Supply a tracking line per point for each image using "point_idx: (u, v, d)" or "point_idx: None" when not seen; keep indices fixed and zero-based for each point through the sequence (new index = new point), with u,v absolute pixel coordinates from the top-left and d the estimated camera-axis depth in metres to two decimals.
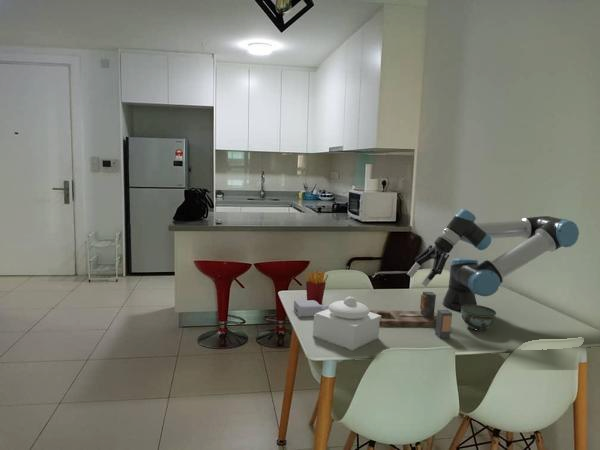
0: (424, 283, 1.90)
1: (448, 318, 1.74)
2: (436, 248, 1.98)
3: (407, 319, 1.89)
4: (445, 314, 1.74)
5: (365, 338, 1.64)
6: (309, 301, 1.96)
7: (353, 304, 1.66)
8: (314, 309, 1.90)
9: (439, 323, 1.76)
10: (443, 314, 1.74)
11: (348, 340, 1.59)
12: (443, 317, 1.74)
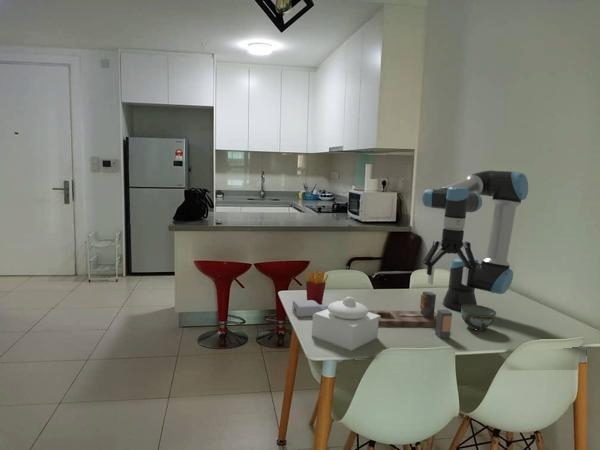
0: None
1: (448, 318, 1.74)
2: (450, 242, 1.71)
3: (407, 319, 1.89)
4: (445, 314, 1.74)
5: (364, 338, 1.64)
6: (308, 301, 1.96)
7: (352, 304, 1.66)
8: (313, 309, 1.90)
9: (439, 323, 1.76)
10: (443, 314, 1.74)
11: (347, 340, 1.59)
12: (443, 317, 1.74)
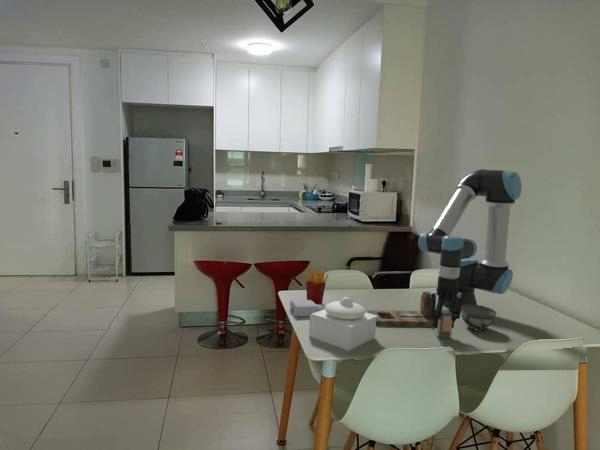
0: None
1: (448, 318, 1.74)
2: (445, 288, 1.73)
3: (407, 319, 1.89)
4: (445, 314, 1.74)
5: (361, 338, 1.63)
6: (305, 301, 1.96)
7: (349, 304, 1.65)
8: (310, 309, 1.90)
9: None
10: (443, 314, 1.74)
11: (344, 341, 1.58)
12: (443, 317, 1.74)
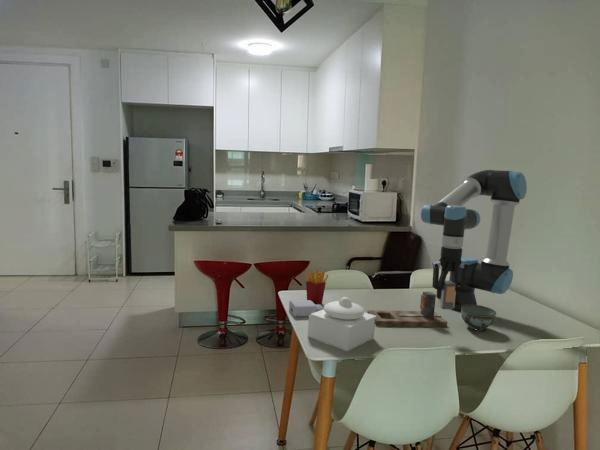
0: None
1: (452, 289, 1.72)
2: (448, 258, 1.72)
3: (407, 319, 1.89)
4: (448, 285, 1.73)
5: (360, 338, 1.63)
6: (304, 301, 1.96)
7: (348, 305, 1.65)
8: (309, 309, 1.90)
9: None
10: (446, 285, 1.72)
11: (343, 341, 1.58)
12: (446, 288, 1.72)
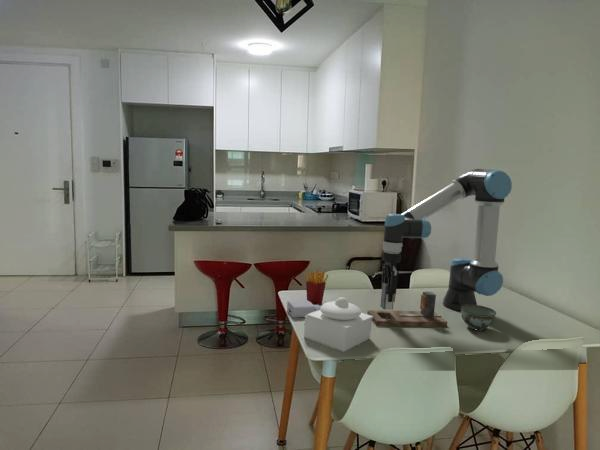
0: None
1: None
2: None
3: (407, 319, 1.89)
4: None
5: (356, 339, 1.63)
6: (303, 301, 1.95)
7: (345, 305, 1.65)
8: (308, 309, 1.89)
9: None
10: None
11: (340, 341, 1.58)
12: None
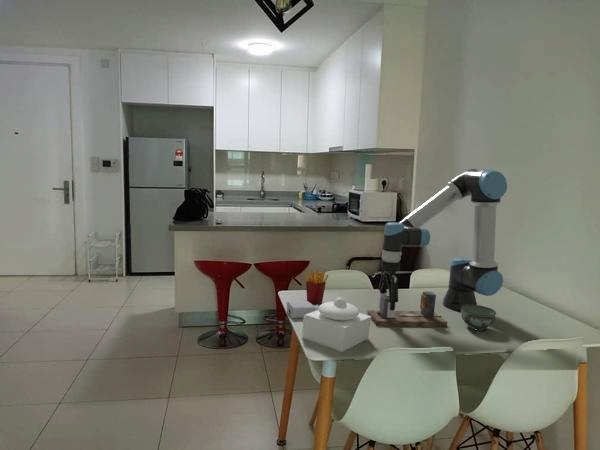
0: None
1: None
2: None
3: (407, 319, 1.89)
4: None
5: (355, 339, 1.62)
6: (302, 302, 1.94)
7: (343, 305, 1.64)
8: (308, 310, 1.88)
9: None
10: None
11: (338, 342, 1.57)
12: None
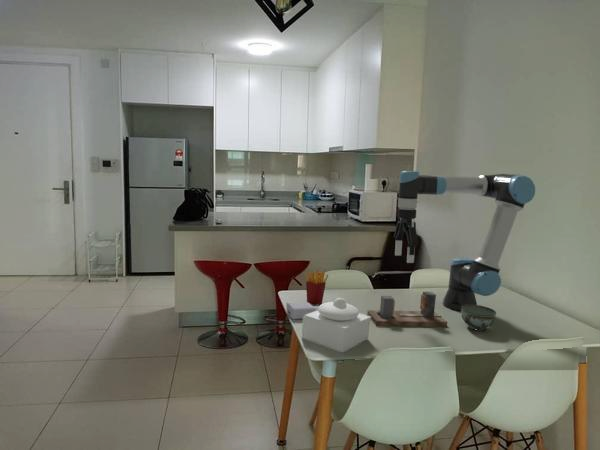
0: None
1: None
2: None
3: (407, 319, 1.89)
4: None
5: (354, 339, 1.62)
6: (302, 303, 1.93)
7: (343, 305, 1.64)
8: (308, 311, 1.87)
9: (389, 309, 1.89)
10: None
11: (338, 342, 1.57)
12: (394, 302, 1.89)
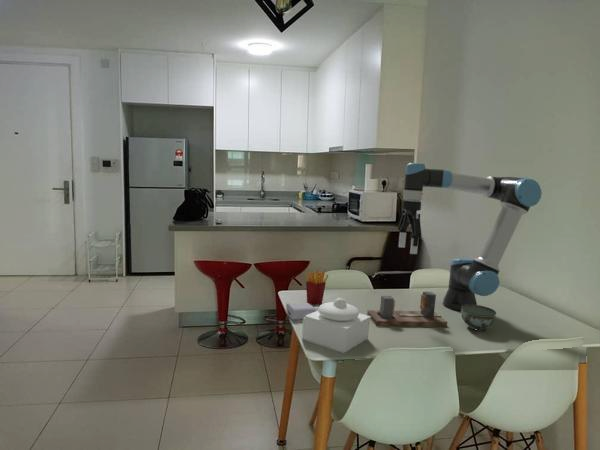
0: None
1: None
2: None
3: (407, 319, 1.89)
4: None
5: (355, 339, 1.62)
6: (302, 303, 1.92)
7: (343, 306, 1.64)
8: (308, 312, 1.86)
9: (389, 309, 1.89)
10: None
11: (339, 342, 1.57)
12: (394, 302, 1.89)
